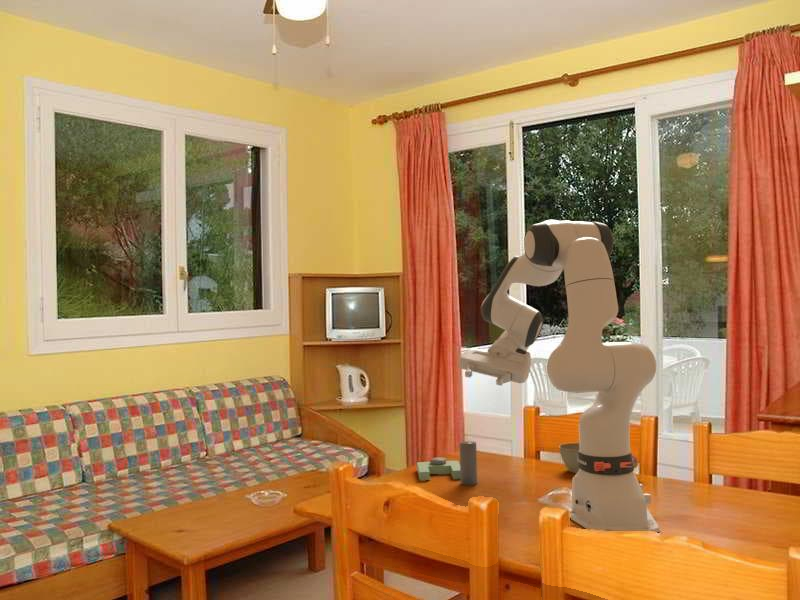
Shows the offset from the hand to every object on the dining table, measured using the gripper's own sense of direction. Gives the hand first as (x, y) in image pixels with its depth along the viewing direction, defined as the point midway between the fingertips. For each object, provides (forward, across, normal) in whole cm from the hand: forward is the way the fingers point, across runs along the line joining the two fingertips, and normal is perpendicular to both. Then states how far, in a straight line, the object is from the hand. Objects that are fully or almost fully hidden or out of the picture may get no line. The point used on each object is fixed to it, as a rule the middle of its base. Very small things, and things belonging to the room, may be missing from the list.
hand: (482, 379), depth 199 cm
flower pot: (-7, +26, +28) cm, 39 cm away
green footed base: (+12, -8, +27) cm, 31 cm away
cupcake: (-4, +39, +24) cm, 46 cm away
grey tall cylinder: (+17, +4, +23) cm, 28 cm away
